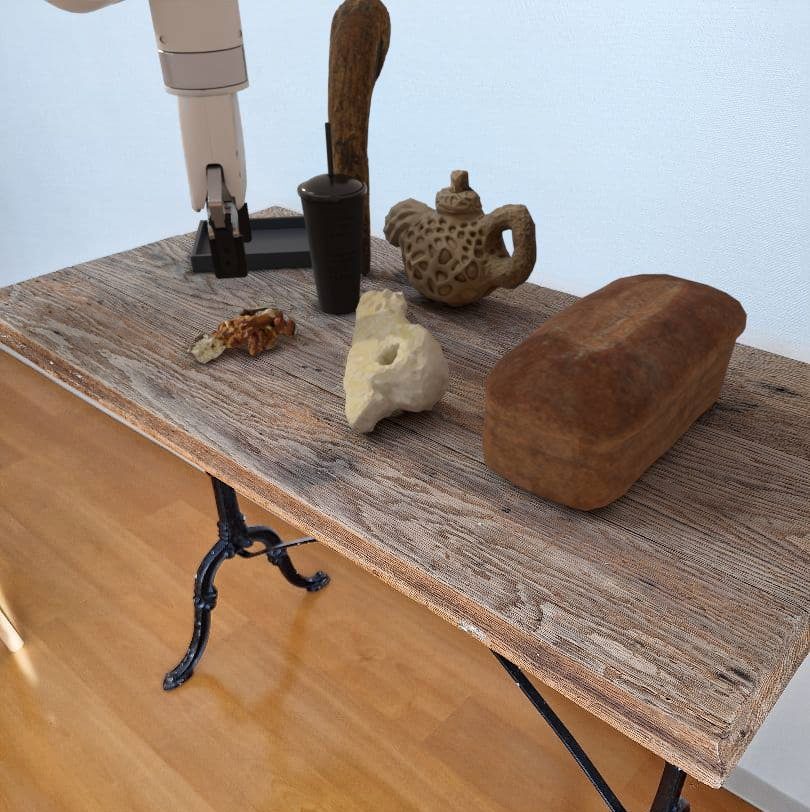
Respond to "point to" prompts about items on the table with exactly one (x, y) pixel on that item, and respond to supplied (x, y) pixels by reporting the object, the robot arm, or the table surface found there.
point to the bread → (608, 387)
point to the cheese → (390, 363)
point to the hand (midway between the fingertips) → (234, 258)
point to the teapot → (461, 244)
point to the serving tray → (261, 244)
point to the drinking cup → (334, 234)
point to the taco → (244, 333)
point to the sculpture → (355, 91)
